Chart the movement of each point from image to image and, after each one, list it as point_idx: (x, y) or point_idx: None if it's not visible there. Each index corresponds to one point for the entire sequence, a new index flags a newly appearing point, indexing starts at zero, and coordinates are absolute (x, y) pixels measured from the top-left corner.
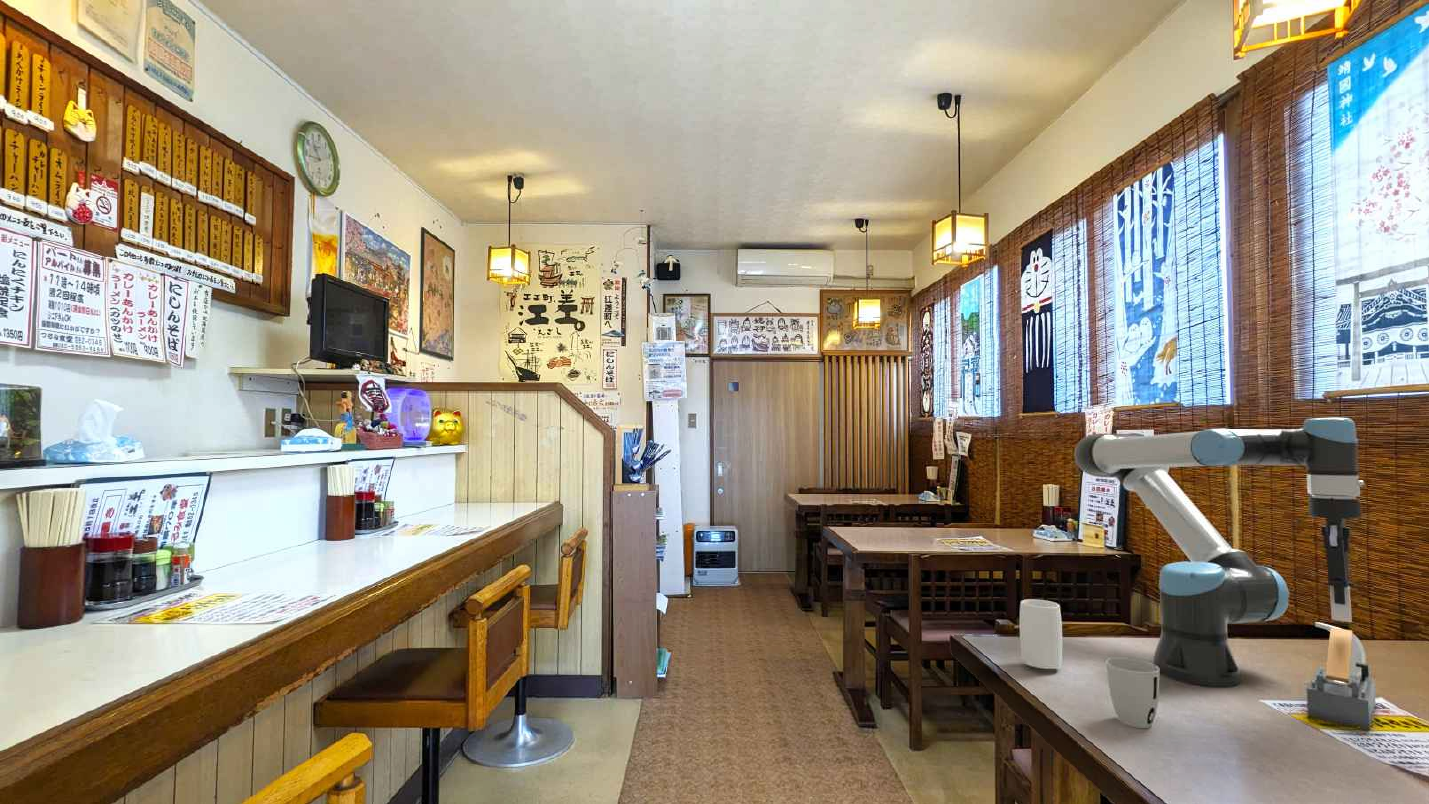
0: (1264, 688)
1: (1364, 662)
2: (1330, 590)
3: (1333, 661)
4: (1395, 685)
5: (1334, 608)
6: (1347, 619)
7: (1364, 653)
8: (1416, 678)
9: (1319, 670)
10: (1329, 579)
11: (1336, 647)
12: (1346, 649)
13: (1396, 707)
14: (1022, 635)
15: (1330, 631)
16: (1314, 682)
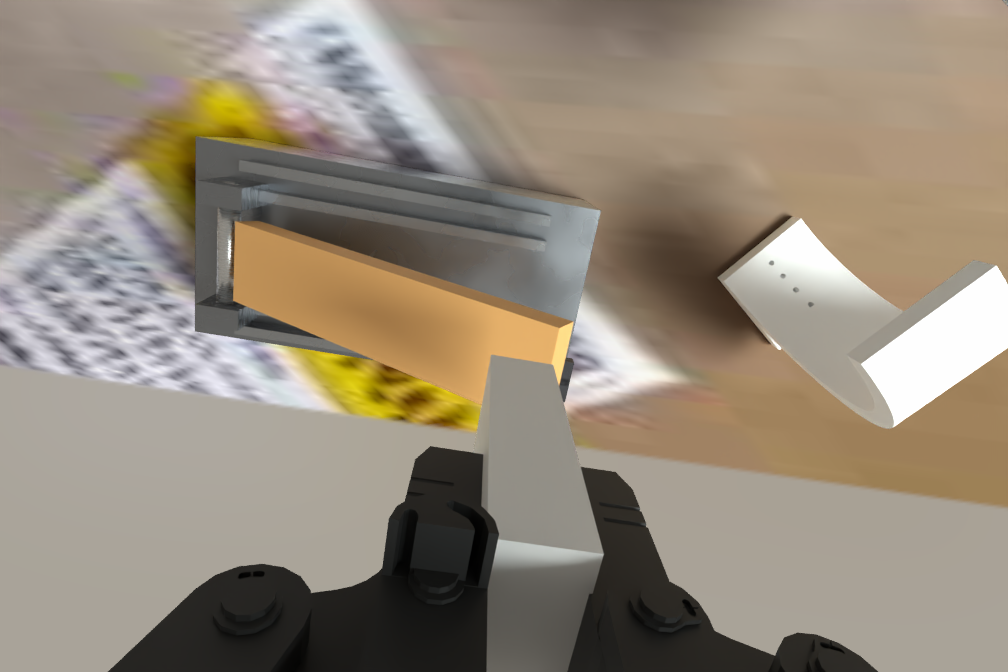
0: (534, 3)
1: (833, 393)
2: (485, 499)
3: (310, 270)
4: (861, 437)
5: (486, 416)
6: (475, 448)
7: (858, 413)
8: (989, 503)
9: (487, 211)
10: (163, 631)
11: (399, 309)
12: (390, 349)
13: (578, 402)
14: None
15: (521, 316)
16: (243, 171)
